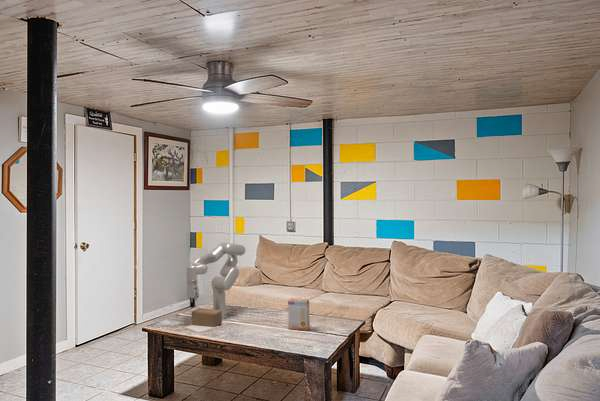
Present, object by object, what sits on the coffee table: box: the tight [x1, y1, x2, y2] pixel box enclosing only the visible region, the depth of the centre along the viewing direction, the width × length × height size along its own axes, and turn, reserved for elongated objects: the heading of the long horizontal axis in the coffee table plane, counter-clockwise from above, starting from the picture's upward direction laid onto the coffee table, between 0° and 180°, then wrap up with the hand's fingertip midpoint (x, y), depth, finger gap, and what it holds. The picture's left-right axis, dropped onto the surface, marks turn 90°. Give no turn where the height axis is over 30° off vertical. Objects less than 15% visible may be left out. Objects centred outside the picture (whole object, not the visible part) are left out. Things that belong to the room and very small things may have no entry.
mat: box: [184, 324, 221, 334], centre depth 314 cm, size 18×18×1 cm
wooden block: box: [191, 307, 223, 327], centre depth 320 cm, size 10×10×20 cm
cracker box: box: [287, 298, 311, 332], centre depth 308 cm, size 14×6×21 cm, turn 71°
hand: (192, 307), depth 321 cm, fingers closed
